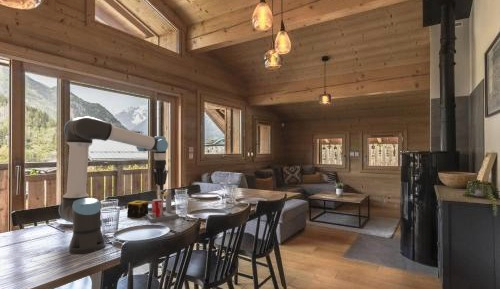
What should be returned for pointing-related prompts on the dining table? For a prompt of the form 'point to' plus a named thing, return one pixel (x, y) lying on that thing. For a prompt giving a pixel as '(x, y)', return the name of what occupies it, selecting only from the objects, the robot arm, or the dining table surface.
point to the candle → (137, 209)
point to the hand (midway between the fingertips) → (160, 194)
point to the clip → (165, 193)
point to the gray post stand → (167, 214)
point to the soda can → (157, 208)
